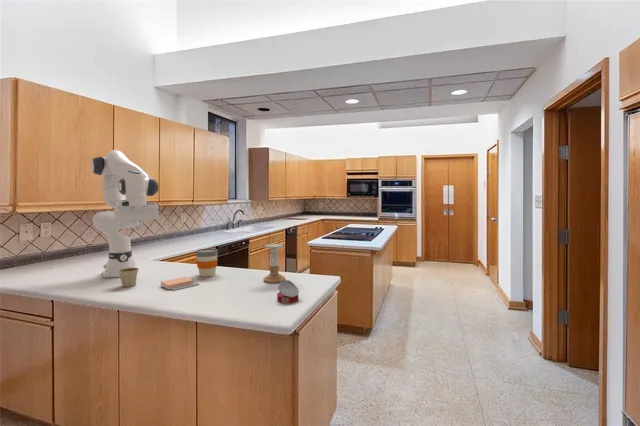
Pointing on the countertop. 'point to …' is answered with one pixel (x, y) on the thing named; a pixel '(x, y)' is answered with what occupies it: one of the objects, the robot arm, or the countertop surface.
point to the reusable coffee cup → (207, 261)
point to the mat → (184, 286)
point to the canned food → (287, 292)
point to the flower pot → (128, 276)
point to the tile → (176, 282)
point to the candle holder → (274, 265)
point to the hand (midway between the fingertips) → (137, 229)
